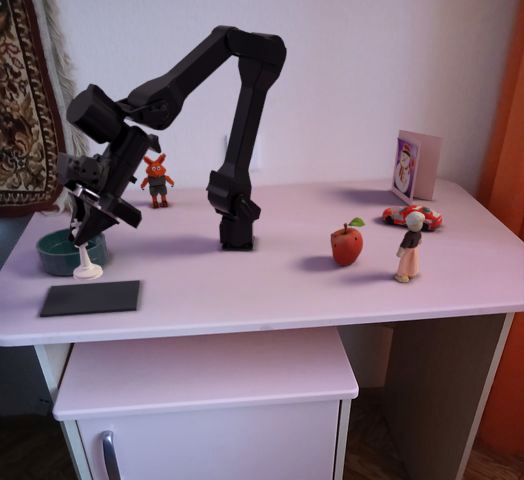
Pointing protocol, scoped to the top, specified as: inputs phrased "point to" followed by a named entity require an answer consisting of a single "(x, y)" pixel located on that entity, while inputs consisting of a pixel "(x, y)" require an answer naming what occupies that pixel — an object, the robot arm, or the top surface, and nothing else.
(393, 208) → the race car
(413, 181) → the greeting card
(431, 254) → the top surface
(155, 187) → the toy animal
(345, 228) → the apple
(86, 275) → the chess piece
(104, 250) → the bowl
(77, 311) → the mat
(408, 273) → the grandmother figurine
